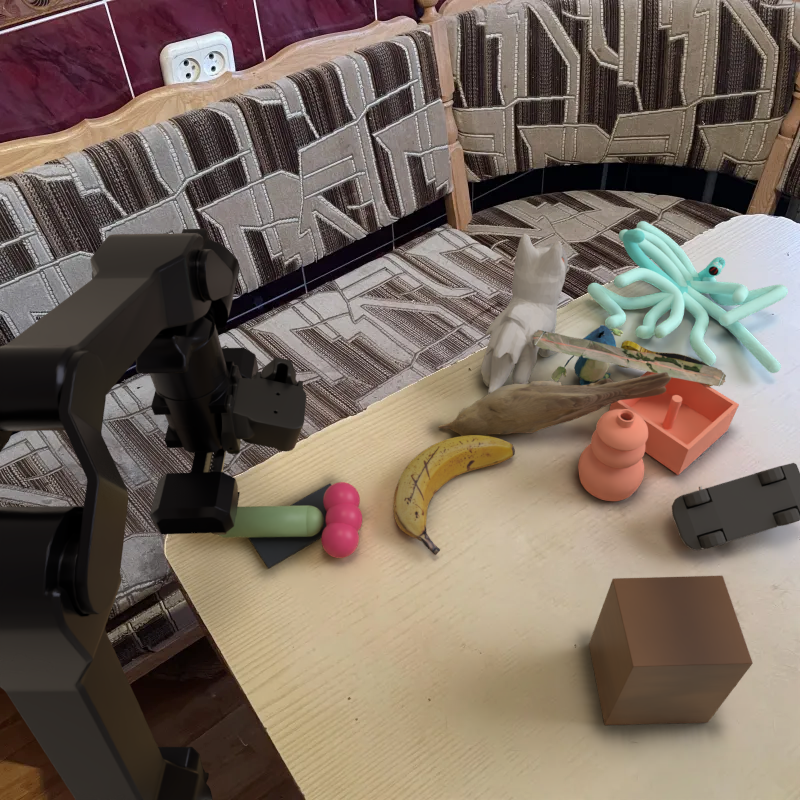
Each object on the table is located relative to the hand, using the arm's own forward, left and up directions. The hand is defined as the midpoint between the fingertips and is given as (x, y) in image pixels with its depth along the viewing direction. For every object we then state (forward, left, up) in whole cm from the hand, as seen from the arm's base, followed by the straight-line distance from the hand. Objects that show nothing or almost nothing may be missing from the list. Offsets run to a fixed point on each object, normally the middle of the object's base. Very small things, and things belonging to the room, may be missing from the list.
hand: (228, 491), depth 71 cm
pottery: (+31, -29, -7) cm, 43 cm away
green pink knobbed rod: (+3, -4, -6) cm, 8 cm away
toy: (+36, -13, -7) cm, 39 cm away
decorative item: (+43, -27, -7) cm, 51 cm away
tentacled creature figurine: (+45, -25, -1) cm, 52 cm away
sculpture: (+31, -18, -3) cm, 36 cm away
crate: (+8, -39, -7) cm, 41 cm away
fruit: (+16, -15, -7) cm, 23 cm away
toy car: (+26, -41, -1) cm, 48 cm away
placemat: (+4, -5, -7) cm, 9 cm away
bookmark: (+37, -24, 0) cm, 44 cm away
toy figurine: (+38, -21, -7) cm, 44 cm away
